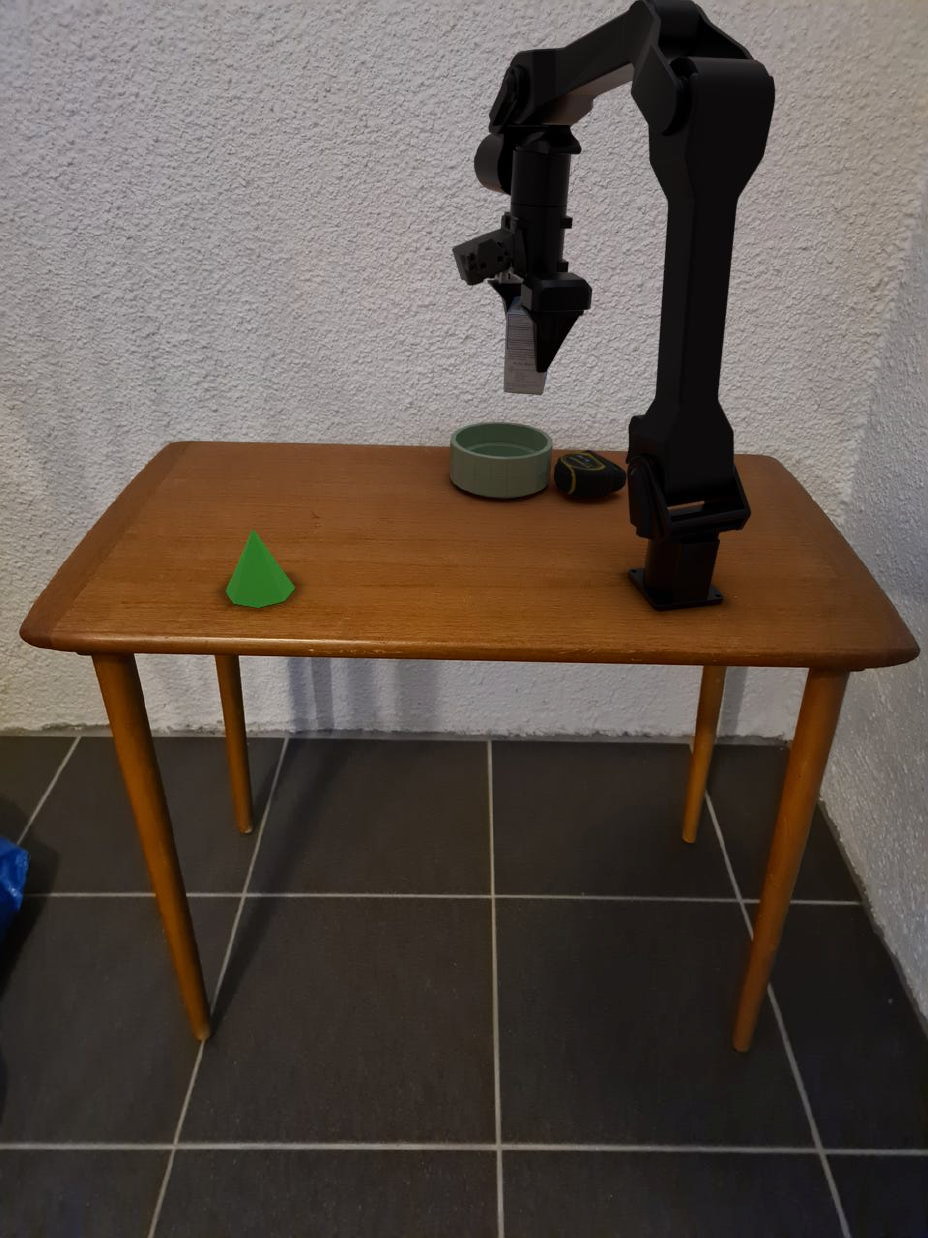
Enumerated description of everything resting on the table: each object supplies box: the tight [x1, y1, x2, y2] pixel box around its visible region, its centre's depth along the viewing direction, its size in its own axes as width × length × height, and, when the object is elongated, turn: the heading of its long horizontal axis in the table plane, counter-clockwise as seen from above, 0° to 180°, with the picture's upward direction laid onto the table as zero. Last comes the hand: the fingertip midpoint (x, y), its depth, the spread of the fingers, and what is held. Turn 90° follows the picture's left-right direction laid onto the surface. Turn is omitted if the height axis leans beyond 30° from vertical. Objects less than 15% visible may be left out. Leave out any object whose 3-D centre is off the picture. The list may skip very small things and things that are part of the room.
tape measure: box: [552, 449, 627, 499], centre depth 90 cm, size 7×7×4 cm
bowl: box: [449, 421, 554, 499], centre depth 92 cm, size 11×11×5 cm
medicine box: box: [503, 296, 549, 396], centre depth 90 cm, size 8×4×9 cm, turn 172°
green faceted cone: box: [225, 528, 296, 609], centre depth 71 cm, size 6×6×6 cm
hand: (528, 360), depth 91 cm, fingers closed on medicine box, 9 cm apart
